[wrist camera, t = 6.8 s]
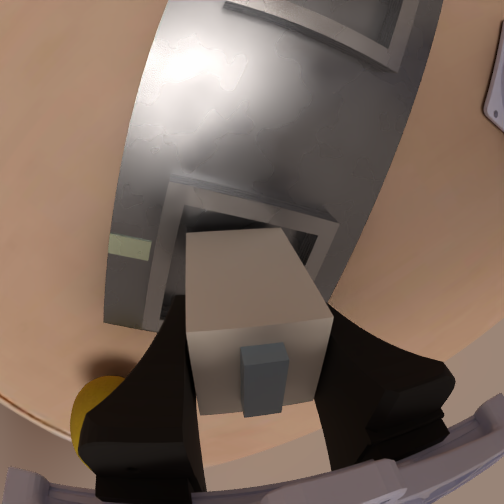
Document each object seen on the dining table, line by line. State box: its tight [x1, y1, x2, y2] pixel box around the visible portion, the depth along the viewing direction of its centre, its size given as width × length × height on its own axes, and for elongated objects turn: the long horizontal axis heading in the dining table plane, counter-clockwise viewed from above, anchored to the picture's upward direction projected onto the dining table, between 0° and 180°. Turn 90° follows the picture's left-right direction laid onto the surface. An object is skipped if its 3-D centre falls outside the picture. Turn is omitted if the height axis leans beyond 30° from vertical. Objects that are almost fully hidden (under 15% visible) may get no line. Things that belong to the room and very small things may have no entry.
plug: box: [185, 227, 334, 418], centre depth 12 cm, size 4×4×7 cm
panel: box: [103, 0, 443, 333], centre depth 13 cm, size 12×24×2 cm, turn 162°
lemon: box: [70, 376, 125, 470], centre depth 16 cm, size 6×6×8 cm
